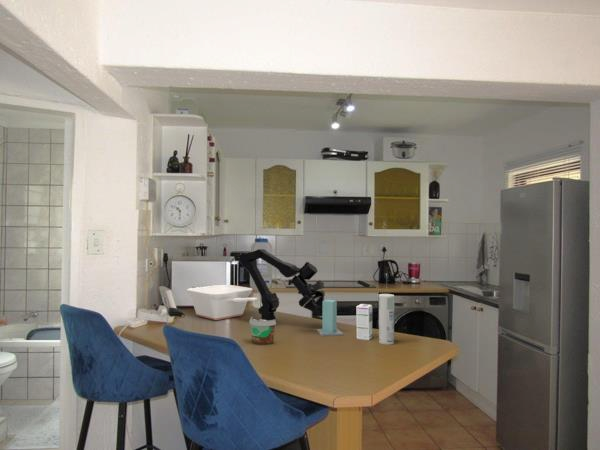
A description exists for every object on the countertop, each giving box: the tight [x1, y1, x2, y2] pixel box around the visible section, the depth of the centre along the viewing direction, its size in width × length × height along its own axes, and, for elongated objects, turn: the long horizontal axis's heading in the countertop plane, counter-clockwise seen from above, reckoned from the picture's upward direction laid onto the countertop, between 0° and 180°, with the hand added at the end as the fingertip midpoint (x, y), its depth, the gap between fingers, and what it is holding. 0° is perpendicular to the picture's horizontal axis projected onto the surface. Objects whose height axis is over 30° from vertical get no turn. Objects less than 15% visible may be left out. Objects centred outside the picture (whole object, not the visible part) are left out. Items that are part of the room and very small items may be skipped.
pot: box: [186, 284, 258, 321], centre depth 220 cm, size 29×44×15 cm, turn 47°
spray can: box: [378, 293, 395, 345], centre depth 175 cm, size 6×6×20 cm
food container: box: [248, 316, 277, 346], centre depth 172 cm, size 12×6×10 cm, turn 62°
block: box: [321, 299, 338, 333], centre depth 191 cm, size 5×5×14 cm
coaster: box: [316, 328, 344, 337], centre depth 190 cm, size 10×10×1 cm
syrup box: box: [355, 303, 374, 341], centre depth 182 cm, size 6×6×14 cm
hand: (323, 312), depth 192 cm, fingers open, 9 cm apart
